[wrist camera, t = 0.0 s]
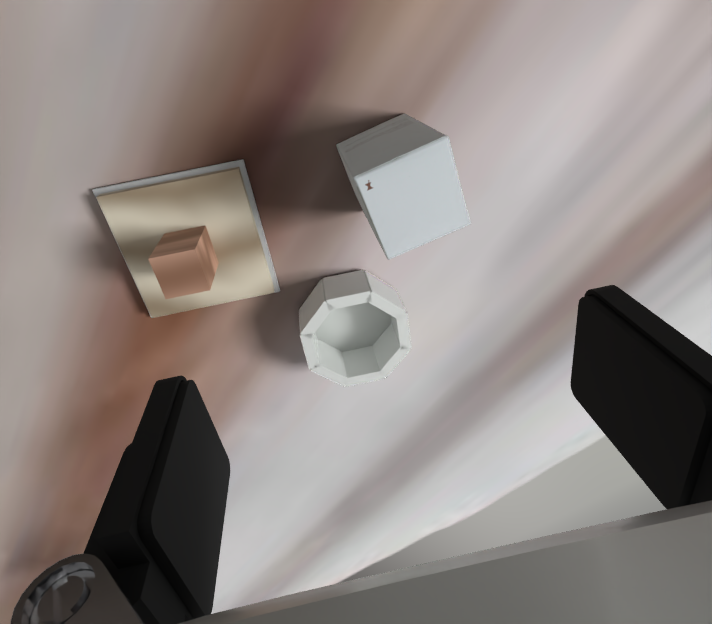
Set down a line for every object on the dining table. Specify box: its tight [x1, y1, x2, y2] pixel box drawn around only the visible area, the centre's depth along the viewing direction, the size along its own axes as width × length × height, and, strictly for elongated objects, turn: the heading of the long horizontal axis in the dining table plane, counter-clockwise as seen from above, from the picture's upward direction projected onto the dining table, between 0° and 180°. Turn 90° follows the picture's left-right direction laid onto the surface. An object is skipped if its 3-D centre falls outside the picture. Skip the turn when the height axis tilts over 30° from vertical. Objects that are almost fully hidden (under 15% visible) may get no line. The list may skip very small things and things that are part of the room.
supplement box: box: [336, 114, 471, 259], centre depth 40 cm, size 7×7×13 cm
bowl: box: [299, 270, 412, 387], centre depth 51 cm, size 11×11×6 cm
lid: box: [96, 167, 274, 318], centre depth 43 cm, size 13×13×7 cm
